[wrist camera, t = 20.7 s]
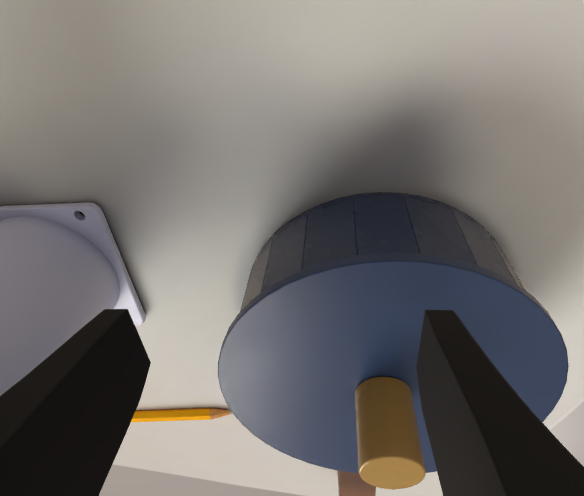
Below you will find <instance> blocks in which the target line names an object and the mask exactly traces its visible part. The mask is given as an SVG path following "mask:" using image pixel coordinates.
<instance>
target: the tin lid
mask: <svg viewBox="0 0 584 496" xmlns="http://www.w3.org/2000/svg"><path fill="white" fill-rule="evenodd" d="M425 310H453V311H454V312H455V313H456V314H457V315H458V316H459V318H460V319H461V321H462V322H463V324H464V325H465V326H466V328H467V329H468V331H469V332H470V334H471V335H472V336H473V338H474V339H475V340H476V342H477V343H478V344H479V346H480V347H481V348H482V350H483V351H484V352H485V354H486V355H487V356H488V358H489V359H490V360H491V362H492V363H493V364H494V366H495V367H496V368H497V369H498V371H499V372H500V373H501V374H502V376H503V377H504V378H505V379H506V380H507V382H508V383H509V384H510V385H511V387H512V388H513V389H514V390H515V391H516V393H517V394H518V395H519V396H520V398H521V399H522V400H523V401H524V402H525V403H526V405H527V406H528V407H529V408H530V409H531V410H532V412H533V413H534V414H535V415H536V416H537V417H538V418H539V419H540V421H541V422H543V421H544V420H545V419H546V417H547V416H548V415H549V414H550V413H551V411H552V410H553V409H554V407H555V406H556V404H557V402H558V401H559V399H560V397H561V395H562V393H563V390H564V387H565V384H566V381H567V373H568V357H567V349H566V346H565V344H564V341H563V338H562V335H561V333H560V331H559V330H558V328H557V326H556V325H555V323H554V322H553V320H552V318H551V317H550V315H549V313H548V312H547V311H546V310H545V309H544V308H543V306H542V305H541V304H540V303H539V302H538V301H537V300H536V299H535V298H534V297H533V296H532V295H530V294H529V293H528V292H526V291H525V290H524V289H522V288H521V287H520V286H518V285H517V284H515V283H514V282H512V281H510V280H508V279H506V278H504V277H503V276H501V275H499V274H497V273H495V272H493V271H490V270H487V269H485V268H482V267H480V266H477V265H474V264H472V263H468V262H464V261H460V260H456V259H452V258H448V257H442V256H435V255H428V254H420V253H394V252H388V253H374V254H361V255H356V256H350V257H345V258H339V259H334V260H331V261H327V262H324V263H320V264H317V265H314V266H310V267H308V268H305V269H303V270H301V271H298V272H296V273H293V274H291V275H289V276H287V277H285V278H283V279H281V280H280V281H278V282H276V283H274V284H273V285H271V286H269V287H268V288H266V289H265V290H264V291H263V292H261V293H260V294H259V295H257V296H256V297H255V298H253V299H252V300H251V301H250V302H249V303H248V304H247V305H246V306H245V307H244V308H243V309H242V311H241V312H240V313H239V314H238V315H237V317H236V318H235V320H234V321H233V323H232V324H231V326H230V327H229V329H228V332H227V334H226V336H225V338H224V341H223V344H222V347H221V352H220V357H219V361H218V377H219V382H220V387H221V391H222V393H223V396H224V398H225V401H226V403H227V405H228V406H229V408H230V409H231V411H232V412H233V414H234V415H235V416H236V418H237V419H238V420H239V421H240V422H241V423H242V425H244V426H245V427H246V428H247V429H248V430H249V431H250V432H251V433H252V434H254V435H255V436H256V437H258V438H259V439H261V440H262V441H263V442H265V443H266V444H268V445H270V446H272V447H273V448H275V449H277V450H279V451H281V452H283V453H285V454H287V455H289V456H291V457H294V458H296V459H299V460H302V461H305V462H307V463H310V464H314V465H317V466H321V467H325V468H329V469H334V470H339V471H344V472H351V473H359V475H360V477H361V478H362V479H363V480H364V481H365V482H366V483H368V484H370V485H372V486H375V487H379V488H385V489H402V488H407V487H411V486H414V485H416V484H418V483H420V482H421V481H422V480H423V479H424V477H425V473H428V472H435V471H437V468H436V464H435V460H434V456H433V452H432V448H431V444H430V440H429V436H428V432H427V428H426V424H425V420H424V416H423V412H422V406H421V400H420V393H419V385H418V377H417V370H416V366H417V359H418V353H419V346H420V340H421V333H422V326H423V320H424V313H425Z"/></svg>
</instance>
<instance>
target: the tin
mask: <svg viewBox="0 0 584 496" xmlns="http://www.w3.org/2000/svg"><path fill="white" fill-rule="evenodd" d="M388 252H394V253H420V254H428V255H435V256H442V257H448V258H452V259H456V260H460V261H464V262H468V263H472V264H474V265H477V266H480V267H482V268H485V269H487V270H490V271H493V272H495V273H497V274H499V275H501V276H503V277H504V278H506V279H508V280H510V281H512V282H514V283H515V284H517V285H518V286H520V287H521V288H522V289H524V287H523V285H522V284H521V282H520V280H519V278H518V277H517V275H516V273H515V271H514V269H513V268H512V266H511V264H510V262H509V261H508V259H507V258H506V256H505V255H504V254H503V252H502V251H501V249H500V248H499V246H498V245H497V243H496V242H495V240H494V239H493V237H492V236H491V235H490V234H489V232H487V231H486V230H485V229H484V228H483V227H482V226H481V225H480V224H478V223H477V222H476V221H475V220H473V219H472V218H471V217H470V216H468V215H466V214H464V213H463V212H461V211H459V210H457V209H456V208H454V207H451V206H449V205H446V204H444V203H441V202H439V201H436V200H432V199H428V198H424V197H421V196H416V195H409V194H401V193H369V194H359V195H353V196H348V197H344V198H339V199H336V200H333V201H330V202H327V203H324V204H321V205H318V206H316V207H314V208H312V209H310V210H308V211H306V212H304V213H302V214H300V215H299V216H297V217H296V218H294V219H293V220H291V221H290V222H288V223H287V224H286V225H284V226H283V227H282V228H281V229H280V230H279V231H277V232H276V233H275V234H274V235H273V236H272V238H271V239H270V240H269V241H268V242H267V243H266V244H265V246H264V247H263V249H262V251H261V252H260V254H259V255H258V257H257V259H256V261H255V263H254V265H253V267H252V269H251V273H250V277H249V280H248V284H247V288H246V292H245V296H244V300H243V303H242V307H241V311H242V309H243V308H244V307H245V306H246V305H247V304H248V303H249V302H250V301H251V300H252V299H253V298H255V297H256V296H257V295H259V294H260V293H261V292H263V291H264V290H265V289H266V288H268V287H269V286H271V285H273V284H274V283H276V282H278V281H280V280H281V279H283V278H285V277H287V276H289V275H291V274H293V273H296V272H298V271H301V270H303V269H305V268H308V267H310V266H314V265H317V264H320V263H324V262H327V261H331V260H334V259H339V258H345V257H350V256H356V255H361V254H374V253H388ZM524 290H525V289H524ZM241 311H240V312H241Z"/></svg>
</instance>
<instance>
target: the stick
mask: <svg viewBox="0 0 584 496" xmlns="http://www.w3.org/2000/svg"><path fill="white" fill-rule="evenodd" d="M338 486H339V496H375V492H376V487H375V486H372V485H370V484H368V483H366V482H365V481H364V480H363V479H362V478H361V477H360V475H359V473H351V472H344V471H339V470H338Z"/></svg>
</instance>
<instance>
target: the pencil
mask: <svg viewBox="0 0 584 496" xmlns="http://www.w3.org/2000/svg"><path fill="white" fill-rule="evenodd" d="M232 413H233V412H232V411H228V410H223V409H215V408H202V409H177V410H152V411H135V413H134V415H133V418H132V420H131V422H149V421H178V420H207V419H214V418H218V417H222V416H225V415H229V414H232Z"/></svg>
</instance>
